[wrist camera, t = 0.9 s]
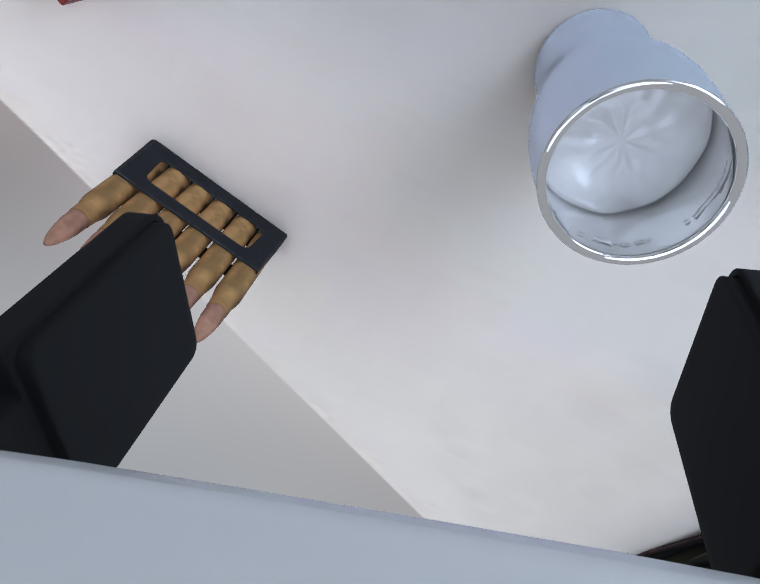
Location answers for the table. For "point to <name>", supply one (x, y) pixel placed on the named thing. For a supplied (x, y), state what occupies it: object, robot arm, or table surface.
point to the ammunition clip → (183, 226)
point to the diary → (683, 553)
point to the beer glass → (630, 142)
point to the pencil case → (67, 1)
